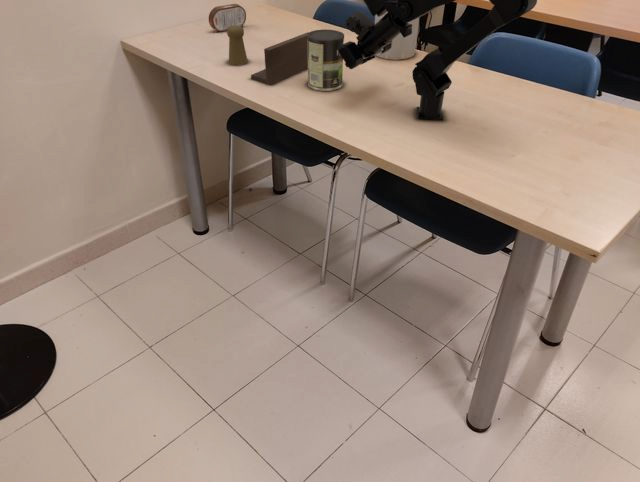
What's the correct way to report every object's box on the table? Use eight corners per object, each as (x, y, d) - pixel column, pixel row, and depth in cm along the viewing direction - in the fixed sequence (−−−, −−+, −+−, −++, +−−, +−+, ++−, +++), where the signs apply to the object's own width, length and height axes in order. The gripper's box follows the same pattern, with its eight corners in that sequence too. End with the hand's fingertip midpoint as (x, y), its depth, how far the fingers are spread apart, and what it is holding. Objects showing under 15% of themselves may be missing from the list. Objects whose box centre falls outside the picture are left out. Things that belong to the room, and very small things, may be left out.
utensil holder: (368, 58, 164) (371, 0, 154) (375, 44, 176) (379, -10, 165) (413, 62, 162) (420, 4, 151) (417, 48, 173) (424, -8, 162)
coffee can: (345, 79, 150) (347, 30, 141) (339, 92, 142) (340, 41, 133) (311, 76, 151) (311, 27, 143) (303, 89, 143) (303, 38, 135)
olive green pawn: (224, 63, 160) (220, 27, 153) (236, 57, 164) (232, 22, 157) (240, 66, 158) (237, 30, 151) (251, 60, 162) (248, 25, 155)
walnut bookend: (313, 66, 159) (313, 33, 152) (271, 85, 146) (269, 50, 140) (293, 60, 162) (292, 28, 156) (251, 78, 150) (248, 44, 143)
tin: (243, 24, 194) (241, 1, 188) (248, 26, 192) (246, 3, 186) (209, 32, 186) (206, 7, 181) (213, 34, 184) (210, 9, 179)
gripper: (386, -4, 132) (349, 32, 144) (345, 11, 120) (309, 48, 132) (408, 33, 133) (370, 65, 145) (371, 51, 121) (333, 85, 133)
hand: (346, 65), depth 139 cm, fingers closed
